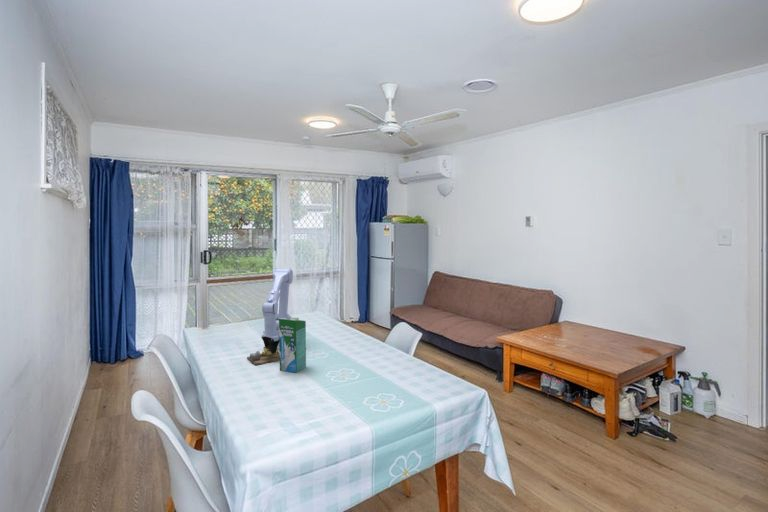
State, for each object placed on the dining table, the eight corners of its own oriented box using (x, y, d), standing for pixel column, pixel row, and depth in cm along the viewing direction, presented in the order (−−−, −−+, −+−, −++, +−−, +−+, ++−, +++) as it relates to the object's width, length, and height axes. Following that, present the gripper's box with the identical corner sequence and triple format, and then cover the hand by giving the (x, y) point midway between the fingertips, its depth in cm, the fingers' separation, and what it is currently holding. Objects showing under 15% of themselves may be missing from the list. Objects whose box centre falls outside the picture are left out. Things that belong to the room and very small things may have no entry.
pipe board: (276, 352, 212) (276, 343, 212) (286, 359, 203) (286, 349, 203) (247, 358, 203) (246, 349, 202) (255, 365, 193) (255, 355, 193)
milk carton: (306, 366, 193) (305, 316, 191) (296, 373, 184) (295, 320, 182) (290, 364, 196) (289, 314, 194) (279, 370, 187) (278, 318, 185)
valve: (275, 353, 208) (275, 343, 207) (278, 355, 205) (278, 344, 204) (261, 356, 203) (261, 345, 203) (264, 358, 200) (264, 347, 200)
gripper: (257, 323, 206) (257, 349, 207) (268, 329, 195) (268, 356, 196) (270, 321, 210) (270, 346, 211) (281, 327, 199) (282, 353, 200)
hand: (270, 351), depth 204 cm, fingers open, 7 cm apart
